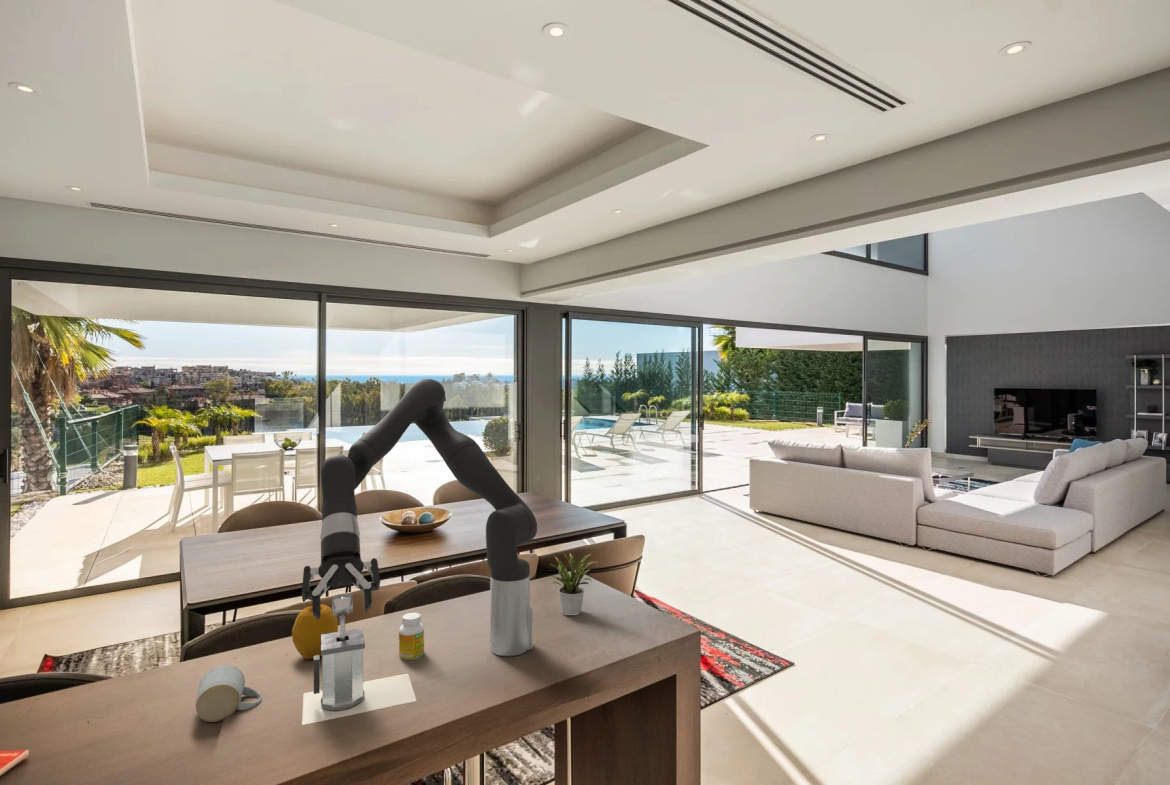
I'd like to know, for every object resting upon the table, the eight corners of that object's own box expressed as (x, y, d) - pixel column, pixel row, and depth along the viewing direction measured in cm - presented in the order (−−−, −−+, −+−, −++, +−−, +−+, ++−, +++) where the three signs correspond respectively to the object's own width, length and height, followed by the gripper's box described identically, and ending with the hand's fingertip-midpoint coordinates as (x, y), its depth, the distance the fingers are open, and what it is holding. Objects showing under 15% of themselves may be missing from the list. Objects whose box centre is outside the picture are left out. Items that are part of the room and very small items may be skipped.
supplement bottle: (416, 665, 132) (416, 621, 132) (394, 662, 133) (394, 619, 133) (428, 654, 137) (427, 612, 137) (406, 652, 138) (406, 610, 138)
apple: (319, 668, 130) (319, 615, 130) (281, 663, 132) (281, 611, 132) (346, 649, 139) (346, 599, 139) (310, 645, 142) (310, 596, 141)
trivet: (407, 678, 126) (407, 673, 126) (416, 706, 115) (416, 700, 115) (303, 698, 118) (303, 693, 118) (302, 730, 107) (302, 725, 107)
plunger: (356, 661, 118) (356, 590, 118) (358, 673, 114) (358, 599, 113) (327, 666, 116) (327, 594, 116) (327, 679, 111) (327, 603, 111)
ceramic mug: (193, 729, 107) (194, 687, 107) (199, 707, 114) (199, 667, 114) (261, 715, 112) (261, 675, 112) (261, 695, 119) (262, 657, 119)
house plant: (606, 605, 168) (606, 547, 167) (596, 624, 154) (596, 561, 154) (557, 601, 171) (557, 544, 171) (543, 619, 157) (543, 558, 157)
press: (362, 686, 120) (362, 627, 120) (365, 705, 113) (365, 643, 113) (314, 696, 116) (313, 635, 116) (313, 716, 109) (313, 651, 109)
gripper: (375, 545, 130) (380, 616, 119) (303, 553, 124) (301, 628, 114) (377, 526, 125) (383, 599, 114) (302, 533, 119) (301, 610, 109)
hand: (342, 613), depth 114 cm, fingers open, 8 cm apart
